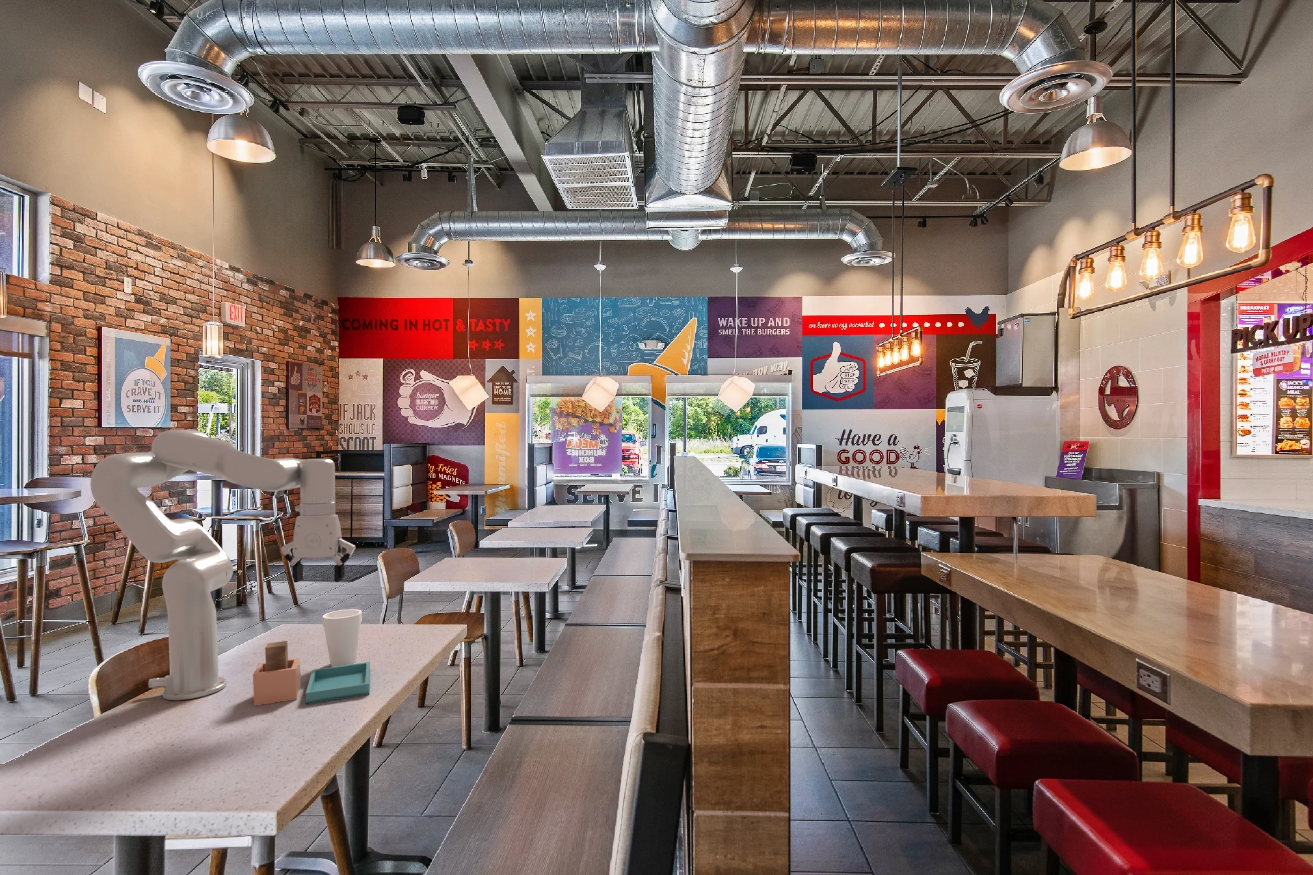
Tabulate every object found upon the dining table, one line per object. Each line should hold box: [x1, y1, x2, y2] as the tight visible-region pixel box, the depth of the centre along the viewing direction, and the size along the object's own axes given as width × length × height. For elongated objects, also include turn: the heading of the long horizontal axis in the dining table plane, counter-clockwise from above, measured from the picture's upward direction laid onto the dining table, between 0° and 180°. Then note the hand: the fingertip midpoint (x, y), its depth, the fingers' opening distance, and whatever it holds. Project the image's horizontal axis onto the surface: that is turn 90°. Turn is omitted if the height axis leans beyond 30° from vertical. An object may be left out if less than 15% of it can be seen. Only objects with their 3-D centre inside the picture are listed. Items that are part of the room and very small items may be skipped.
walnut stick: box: [264, 640, 289, 671], centre depth 159 cm, size 4×4×12 cm
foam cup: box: [322, 608, 363, 667], centre depth 182 cm, size 10×9×13 cm
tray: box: [305, 661, 371, 705], centre depth 164 cm, size 13×17×2 cm
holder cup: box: [252, 657, 302, 707], centre depth 159 cm, size 8×8×7 cm
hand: (318, 581), depth 167 cm, fingers open, 9 cm apart
